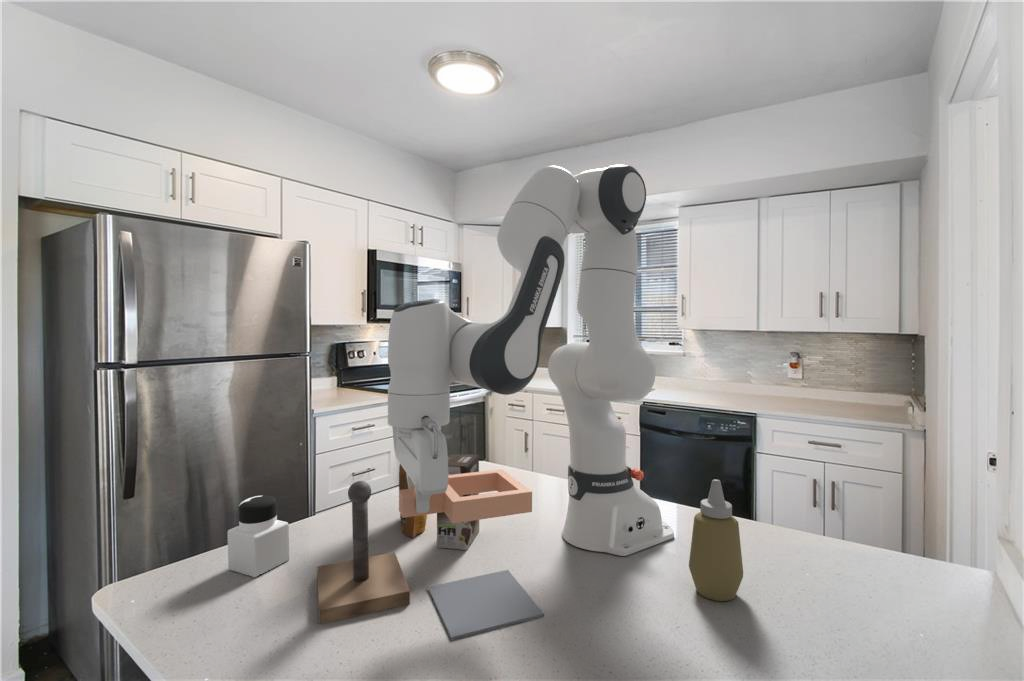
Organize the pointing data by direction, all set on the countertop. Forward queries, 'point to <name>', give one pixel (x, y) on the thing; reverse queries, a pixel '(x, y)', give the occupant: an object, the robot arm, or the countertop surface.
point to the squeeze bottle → (716, 548)
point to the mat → (482, 603)
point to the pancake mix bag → (414, 523)
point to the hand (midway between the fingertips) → (418, 505)
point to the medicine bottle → (258, 538)
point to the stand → (360, 572)
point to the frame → (473, 497)
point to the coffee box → (459, 464)
